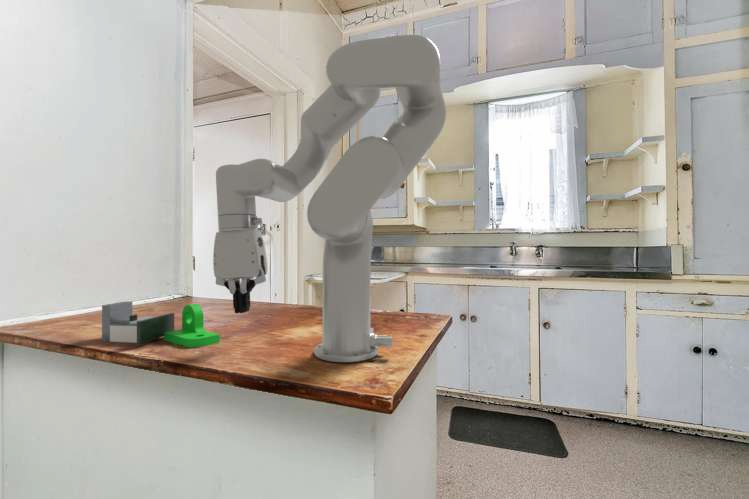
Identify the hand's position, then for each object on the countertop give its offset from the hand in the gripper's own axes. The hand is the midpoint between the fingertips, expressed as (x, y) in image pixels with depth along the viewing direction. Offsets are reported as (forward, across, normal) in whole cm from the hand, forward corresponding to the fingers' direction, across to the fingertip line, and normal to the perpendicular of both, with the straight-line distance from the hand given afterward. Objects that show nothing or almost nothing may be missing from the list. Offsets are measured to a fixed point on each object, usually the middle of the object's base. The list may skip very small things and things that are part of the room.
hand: (242, 311), depth 72 cm
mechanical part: (+7, +14, -3) cm, 16 cm away
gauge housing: (+6, +29, -3) cm, 30 cm away
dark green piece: (+5, +24, -2) cm, 25 cm away
